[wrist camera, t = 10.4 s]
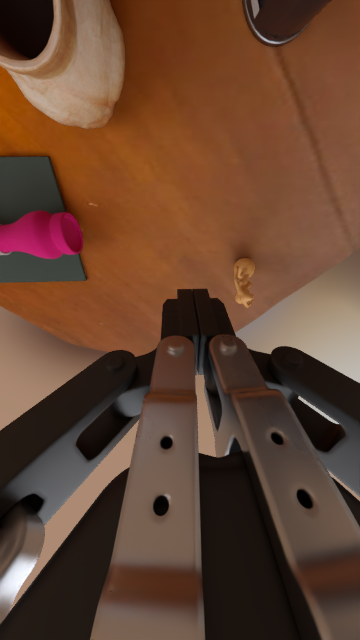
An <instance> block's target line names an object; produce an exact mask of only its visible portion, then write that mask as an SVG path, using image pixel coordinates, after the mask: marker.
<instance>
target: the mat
mask: <svg viewBox="0 0 360 640" xmlns="http://www.w3.org/2000/svg"><path fill="white" fill-rule="evenodd" d="M39 210H41V211H46V212H49V213H50V214H52V215H53V214H54V213H60V212H66V209H65V206H64V203H63V199H62V196H61V193H60V190H59V186H58V183H57V180H56V176H55V173H54V170H53V167H52V163H51V160H50V157H48V156H46V157H0V224H1V225H7V224H12V223H15V222H16V221H18V220H19V219H20V218H21V217H23V216H24V215H26V214H28V213H30V212H33V211H39ZM86 280H87V278H86V275H85V272H84V268H83V265H82V262H81V258H80V255H79V254H71V255H67V254H64V253H63V255H62V256H60V257H59V258H56V259H46V258H41V257H37V256H34V255H32V254H29V253H25V252H21V251H12V252H11V253H10V254H8V255H0V283H4V282H47V281H86Z"/></svg>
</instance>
